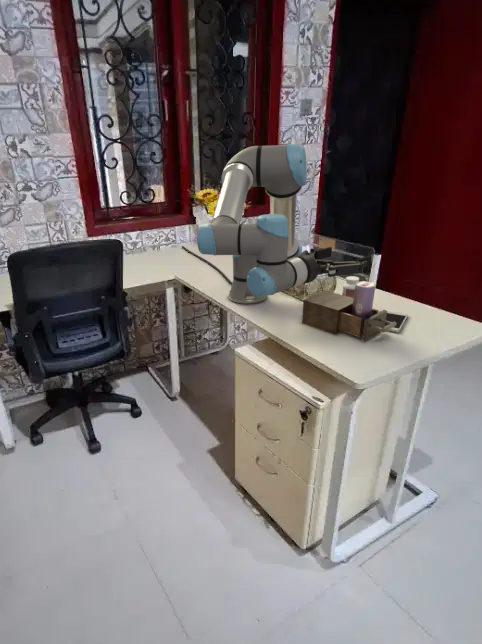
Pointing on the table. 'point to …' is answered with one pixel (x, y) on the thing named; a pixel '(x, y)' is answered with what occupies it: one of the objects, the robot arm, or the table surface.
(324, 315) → the cabinet
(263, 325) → the table surface
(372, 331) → the drawer
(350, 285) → the pill bottle
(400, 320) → the smartphone
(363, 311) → the beverage can
